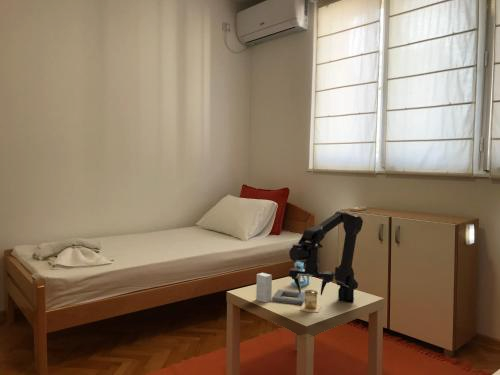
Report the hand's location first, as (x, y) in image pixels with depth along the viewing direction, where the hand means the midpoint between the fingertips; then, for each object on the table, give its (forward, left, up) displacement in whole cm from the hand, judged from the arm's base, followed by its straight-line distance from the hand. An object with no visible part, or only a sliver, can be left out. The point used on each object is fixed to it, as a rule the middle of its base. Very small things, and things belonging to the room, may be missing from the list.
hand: (310, 293), depth 175 cm
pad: (0, 0, -6) cm, 7 cm away
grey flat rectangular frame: (+11, -9, -6) cm, 16 cm away
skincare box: (+22, -3, -7) cm, 23 cm away
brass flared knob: (0, 0, -6) cm, 6 cm away
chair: (+10, -33, -7) cm, 35 cm away
